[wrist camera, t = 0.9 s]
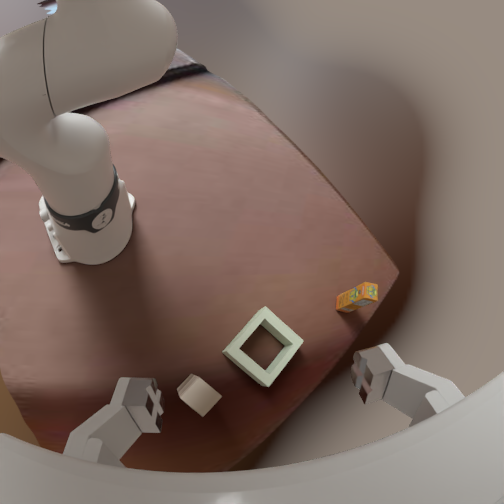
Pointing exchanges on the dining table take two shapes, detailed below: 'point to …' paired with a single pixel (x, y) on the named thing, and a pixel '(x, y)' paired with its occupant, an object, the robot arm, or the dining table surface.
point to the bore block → (278, 331)
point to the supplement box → (357, 297)
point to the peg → (198, 394)
